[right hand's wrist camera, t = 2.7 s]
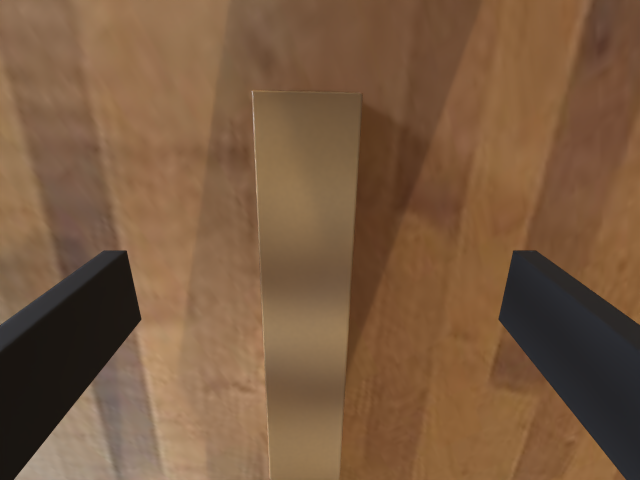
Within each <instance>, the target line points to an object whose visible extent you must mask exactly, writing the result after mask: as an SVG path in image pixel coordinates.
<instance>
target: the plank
mask: <svg viewBox="0 0 640 480" xmlns="http://www.w3.org/2000/svg"><path fill="white" fill-rule="evenodd" d="M362 99H363V94H362V93H361V92H320V91H274V90H253V91H252V109H253V130H254V152H255V173H256V195H257V216H258V238H259V259H260V281H261V302H262V323H263V345H264V366H265V388H266V409H267V431H268V452H269V474H270V480H340V466H341V449H342V433H343V416H344V399H345V383H346V366H347V349H348V333H349V316H350V299H351V282H352V266H353V249H354V232H355V216H356V199H357V182H358V166H359V149H360V132H361V115H362Z"/></svg>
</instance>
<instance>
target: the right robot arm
mask: <svg viewBox="0 0 640 480" xmlns="http://www.w3.org/2000/svg"><path fill="white" fill-rule="evenodd" d="M140 321H141V315H140V310H139V306H138V301H137V296H136V292H135V287H134V283H133V278H132V273H131V269H130V264H129V259H128V255H127V251H103V252H101V253H100V254H99V255H97V256H96V257H94V258H93V259H92V260H90V261H89V262H87V263H86V264H85V265H83V266H82V267H80V268H79V269H78V270H76V271H75V272H73V273H72V274H71V275H69V276H68V277H67V278H65V279H64V280H62V281H61V282H60V283H58V284H57V285H55V286H54V287H53V288H51V289H50V290H48V291H47V292H46V293H44V294H43V295H41V296H40V297H39V298H37V299H36V300H35V301H33V302H32V303H30V304H29V305H28V306H26V307H25V308H23V309H22V310H21V311H19V312H18V313H16V314H15V315H14V316H12V317H11V318H10V319H8V320H7V321H5V322H4V323H3V324H1V325H0V480H14V479H15V478H16V476H17V475H18V474H19V472H20V471H21V470H22V469H23V467H24V466H25V465H26V464H27V462H28V461H29V460H30V459H31V457H32V456H33V455H34V454H35V452H36V451H37V450H38V449H39V447H40V446H41V445H42V444H43V442H44V441H45V440H46V439H47V437H48V436H49V435H50V434H51V432H52V431H53V430H54V429H55V427H56V426H57V425H58V424H59V422H60V421H61V420H62V419H63V417H64V416H65V415H66V413H67V412H68V411H69V410H70V408H71V407H72V406H73V405H74V403H75V402H76V401H77V400H78V398H79V397H80V396H81V395H82V393H83V392H84V391H85V390H86V388H87V387H88V386H89V385H90V383H91V382H92V381H93V380H94V378H95V377H96V376H97V375H98V373H99V372H100V371H101V370H102V368H103V367H104V366H105V365H106V363H107V362H108V361H109V360H110V358H111V357H112V356H113V354H114V353H115V352H116V351H117V349H118V348H119V347H120V346H121V344H122V343H123V342H124V341H125V339H126V338H127V337H128V336H129V334H130V333H131V332H132V331H133V329H134V328H135V327H136V326H137V324H138V323H139V322H140ZM499 321H500V322H501V323H502V324H503V326H504V327H505V328H506V329H507V331H508V332H509V333H510V334H511V336H512V337H513V338H514V339H515V341H516V342H517V343H518V344H519V346H520V347H521V348H522V349H523V351H524V352H525V353H526V355H527V356H528V357H529V358H530V360H531V361H532V362H533V363H534V365H535V366H536V367H537V368H538V370H539V371H540V372H541V373H542V375H543V376H544V377H545V378H546V380H547V381H548V382H549V383H550V385H551V386H552V387H553V388H554V390H555V391H556V392H557V393H558V395H559V396H560V397H561V398H562V400H563V401H564V402H565V403H566V405H567V406H568V407H569V408H570V410H571V411H572V412H573V413H574V415H575V416H576V417H577V419H578V420H579V421H580V422H581V424H582V425H583V426H584V427H585V429H586V430H587V431H588V432H589V434H590V435H591V436H592V437H593V439H594V440H595V441H596V442H597V444H598V445H599V446H600V447H601V449H602V450H603V451H604V452H605V454H606V455H607V456H608V457H609V459H610V460H611V461H612V462H613V464H614V465H615V466H616V467H617V469H618V470H619V471H620V472H621V474H622V475H623V476H624V478H625V479H626V480H640V325H639V324H637V323H636V322H635V321H633V320H632V319H630V318H629V317H628V316H626V315H625V314H624V313H622V312H621V311H619V310H618V309H617V308H615V307H614V306H612V305H611V304H610V303H608V302H607V301H605V300H604V299H603V298H601V297H600V296H598V295H597V294H596V293H594V292H593V291H592V290H590V289H589V288H587V287H586V286H585V285H583V284H582V283H580V282H579V281H578V280H576V279H575V278H573V277H572V276H571V275H569V274H568V273H567V272H565V271H564V270H562V269H561V268H560V267H558V266H557V265H555V264H554V263H553V262H551V261H550V260H548V259H547V258H546V257H544V256H543V255H541V254H540V253H539V252H537V251H513V255H512V259H511V264H510V269H509V273H508V278H507V283H506V287H505V292H504V296H503V301H502V306H501V310H500V315H499Z"/></svg>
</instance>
